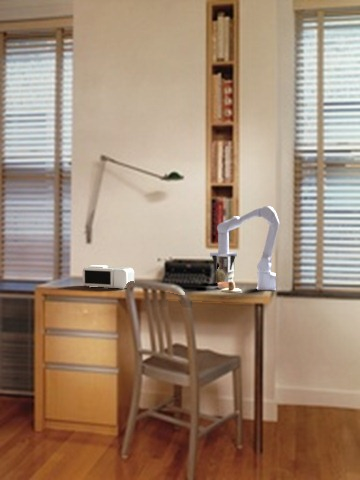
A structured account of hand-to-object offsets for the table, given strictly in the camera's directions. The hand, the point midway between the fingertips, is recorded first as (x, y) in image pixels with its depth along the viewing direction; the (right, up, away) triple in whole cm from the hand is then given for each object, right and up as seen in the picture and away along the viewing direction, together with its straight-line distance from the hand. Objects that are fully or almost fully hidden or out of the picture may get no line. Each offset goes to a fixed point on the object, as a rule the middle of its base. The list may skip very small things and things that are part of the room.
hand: (223, 269), depth 291 cm
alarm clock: (-63, -10, +3) cm, 64 cm away
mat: (+3, -11, -15) cm, 18 cm away
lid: (+3, -10, -15) cm, 18 cm away
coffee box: (+2, -9, +16) cm, 19 cm away
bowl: (+1, -10, -3) cm, 10 cm away
